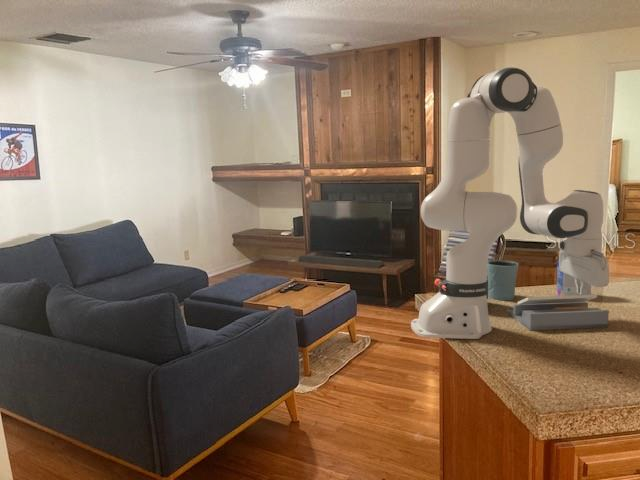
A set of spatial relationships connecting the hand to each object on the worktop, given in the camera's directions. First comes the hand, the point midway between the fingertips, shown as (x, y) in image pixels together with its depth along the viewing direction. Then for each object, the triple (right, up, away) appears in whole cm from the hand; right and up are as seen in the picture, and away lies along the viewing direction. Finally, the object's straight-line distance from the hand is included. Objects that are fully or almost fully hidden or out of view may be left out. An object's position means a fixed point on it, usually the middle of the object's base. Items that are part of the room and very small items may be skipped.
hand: (581, 294), depth 146 cm
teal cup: (-13, -4, +29) cm, 32 cm away
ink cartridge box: (+11, -4, +28) cm, 30 cm away
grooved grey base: (-6, -8, +4) cm, 11 cm away
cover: (-6, -2, +2) cm, 7 cm away
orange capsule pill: (-2, -6, +2) cm, 6 cm away
